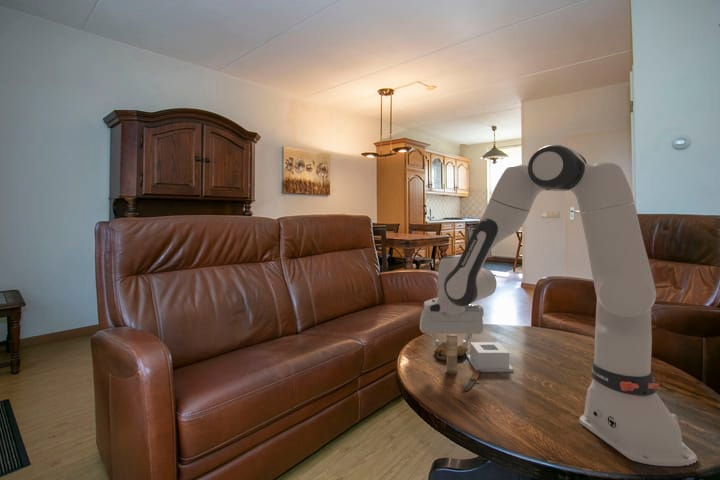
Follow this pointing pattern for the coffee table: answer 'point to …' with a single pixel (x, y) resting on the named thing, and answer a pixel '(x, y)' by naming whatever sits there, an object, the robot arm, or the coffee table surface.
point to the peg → (451, 353)
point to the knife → (472, 380)
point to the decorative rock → (442, 351)
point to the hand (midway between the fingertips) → (450, 346)
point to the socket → (489, 357)
